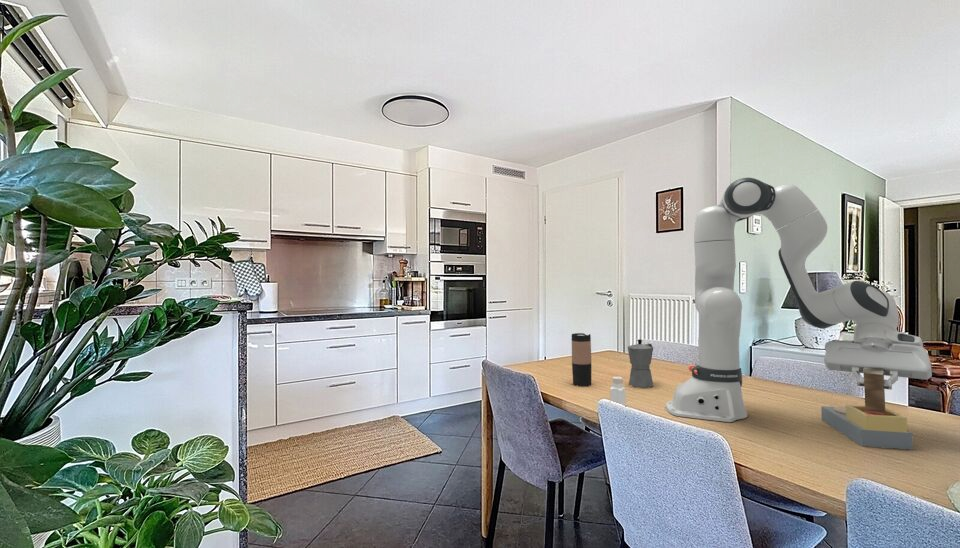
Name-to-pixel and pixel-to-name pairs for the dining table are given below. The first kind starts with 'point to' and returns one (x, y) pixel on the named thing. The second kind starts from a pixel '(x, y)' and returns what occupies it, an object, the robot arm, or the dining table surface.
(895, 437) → the grey and tan block
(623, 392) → the salt shaker
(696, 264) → the robot arm
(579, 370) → the travel mug
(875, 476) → the dining table surface
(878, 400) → the brown rectangular block
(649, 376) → the coffeepot
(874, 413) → the breaker button
